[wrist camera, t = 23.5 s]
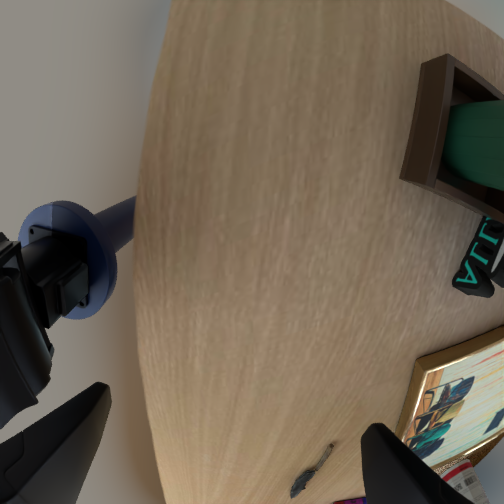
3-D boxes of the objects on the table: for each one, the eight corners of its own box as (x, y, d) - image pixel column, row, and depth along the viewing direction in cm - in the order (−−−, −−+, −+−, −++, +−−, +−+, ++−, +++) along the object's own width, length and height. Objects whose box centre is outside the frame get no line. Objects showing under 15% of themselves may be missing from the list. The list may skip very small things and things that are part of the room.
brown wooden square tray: (398, 178, 18) (425, 185, 15) (421, 63, 15) (447, 52, 12) (480, 214, 19) (507, 225, 15) (499, 115, 16) (527, 116, 12)
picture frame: (424, 370, 22) (571, 297, 20) (416, 359, 23) (564, 292, 22) (376, 490, 32) (508, 428, 30) (374, 482, 33) (504, 423, 32)
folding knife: (297, 499, 34) (285, 501, 34) (296, 494, 35) (284, 496, 35) (317, 473, 29) (302, 475, 29) (315, 467, 30) (300, 469, 30)
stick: (320, 469, 30) (317, 472, 29) (316, 467, 30) (313, 469, 30) (335, 445, 27) (332, 448, 27) (330, 442, 28) (328, 446, 27)
